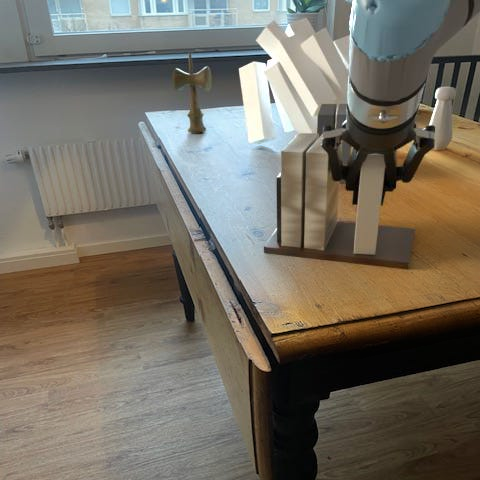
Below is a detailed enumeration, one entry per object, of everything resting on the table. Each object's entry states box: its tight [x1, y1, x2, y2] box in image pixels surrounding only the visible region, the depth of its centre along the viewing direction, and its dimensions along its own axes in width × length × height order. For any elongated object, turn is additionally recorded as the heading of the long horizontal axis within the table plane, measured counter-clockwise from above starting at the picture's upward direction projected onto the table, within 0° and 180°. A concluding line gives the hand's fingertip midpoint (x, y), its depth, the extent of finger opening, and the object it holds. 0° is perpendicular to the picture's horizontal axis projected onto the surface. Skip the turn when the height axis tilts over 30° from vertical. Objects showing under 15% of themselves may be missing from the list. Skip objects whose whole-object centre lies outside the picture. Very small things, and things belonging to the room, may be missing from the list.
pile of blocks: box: [238, 17, 350, 145], centre depth 123 cm, size 35×30×35 cm
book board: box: [263, 132, 416, 270], centre depth 73 cm, size 21×12×15 cm, turn 70°
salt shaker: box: [428, 86, 457, 152], centre depth 113 cm, size 6×6×13 cm
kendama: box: [172, 52, 212, 134], centre depth 136 cm, size 6×10×20 cm, turn 80°
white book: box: [354, 154, 386, 255], centre depth 72 cm, size 3×10×14 cm, turn 168°
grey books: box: [316, 104, 352, 185], centre depth 101 cm, size 6×10×13 cm, turn 168°
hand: (367, 196), depth 76 cm, fingers closed on white book, 3 cm apart
